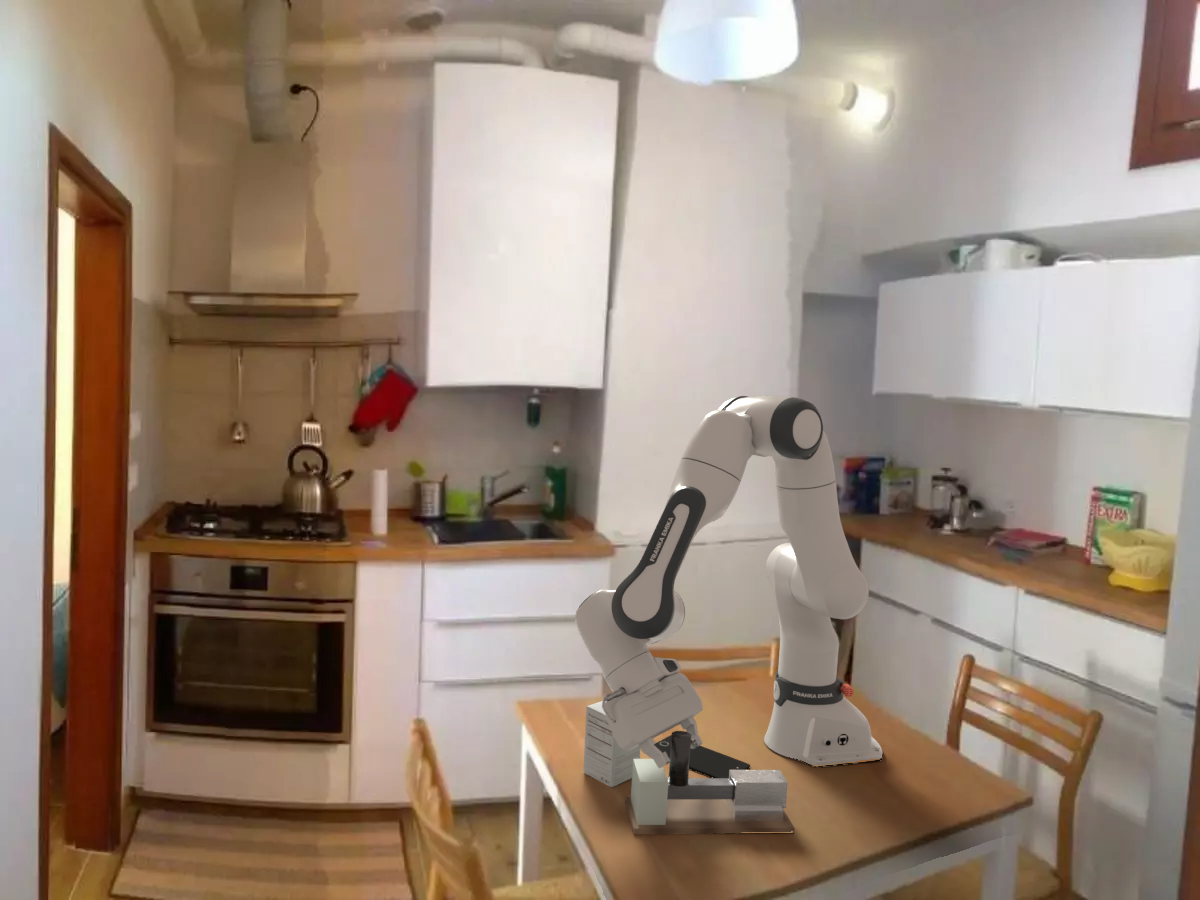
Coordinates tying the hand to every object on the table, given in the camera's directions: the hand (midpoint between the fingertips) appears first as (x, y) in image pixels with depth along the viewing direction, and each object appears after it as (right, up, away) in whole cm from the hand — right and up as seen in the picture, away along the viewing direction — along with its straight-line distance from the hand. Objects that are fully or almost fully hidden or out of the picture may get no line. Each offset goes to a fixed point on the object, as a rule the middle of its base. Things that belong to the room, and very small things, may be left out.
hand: (681, 755), depth 149 cm
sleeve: (+12, -10, +3) cm, 16 cm away
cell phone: (+5, -9, +23) cm, 26 cm away
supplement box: (-11, -9, +16) cm, 21 cm away
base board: (+4, -11, +2) cm, 12 cm away
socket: (-5, -10, +1) cm, 11 cm away
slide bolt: (+2, -7, +2) cm, 7 cm away
